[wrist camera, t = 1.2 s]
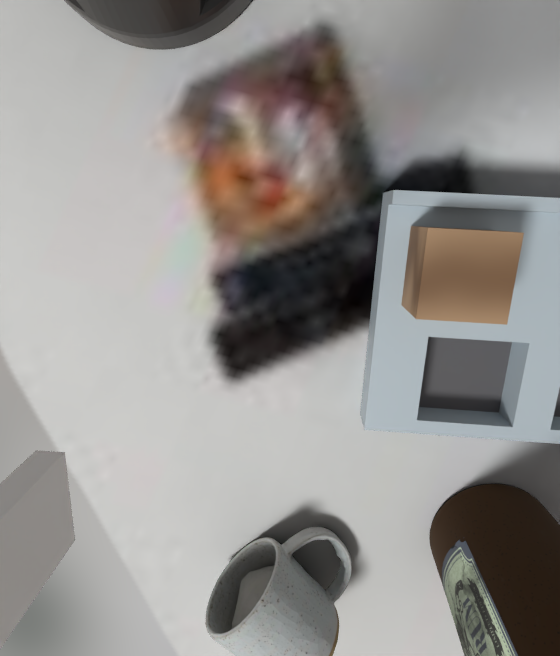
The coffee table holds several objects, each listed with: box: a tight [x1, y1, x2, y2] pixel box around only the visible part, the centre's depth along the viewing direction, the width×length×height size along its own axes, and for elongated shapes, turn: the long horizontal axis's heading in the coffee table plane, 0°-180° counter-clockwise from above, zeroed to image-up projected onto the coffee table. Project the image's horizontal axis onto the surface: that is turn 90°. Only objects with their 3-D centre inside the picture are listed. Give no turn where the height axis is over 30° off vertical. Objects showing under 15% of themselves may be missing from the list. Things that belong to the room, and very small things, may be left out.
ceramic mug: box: [206, 527, 352, 656], centre depth 34 cm, size 11×8×8 cm
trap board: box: [360, 190, 560, 444], centre depth 28 cm, size 16×22×6 cm
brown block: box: [401, 226, 524, 325], centre depth 26 cm, size 5×5×4 cm
